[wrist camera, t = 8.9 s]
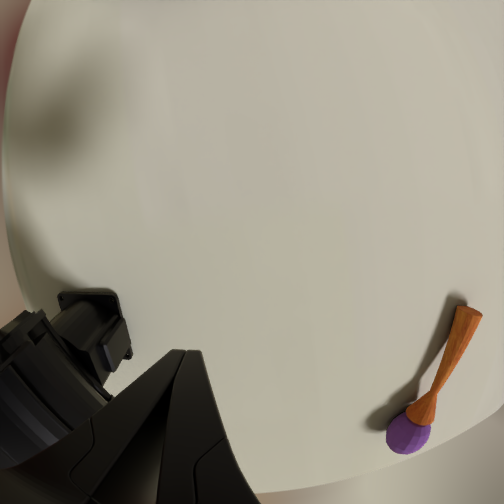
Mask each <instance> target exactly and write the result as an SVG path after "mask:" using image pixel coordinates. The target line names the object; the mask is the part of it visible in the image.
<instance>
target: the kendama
mask: <svg viewBox="0 0 504 504" xmlns="http://www.w3.org/2000/svg"><path fill="white" fill-rule="evenodd" d="M482 316H483V315H482V313H480V312H479V311H477V310H475V309H473V308H471V307H468V306H458V305H457V309H456V313H455V317H454V321H453V324H452V328H451V332H450V335H449V338H448V342H447V345H446V348H445V351H444V354H443V357H442V360H441V363H440V366H439V368H438V371H437V374H436V376H435V379H434V382H433V384H432V387H431V389H430V391H429V392H427V393H426V394H425V395H424V396H422V397H421V398H420V399H418V400H417V401H415V402H414V403H413V404H411V405H410V406H409V407H407V409H406V412H403V413H402V414H400V415H399V416H397V417H396V418H394V419H393V420H392V422H391V424H390V425H389V427H388V429H387V432H386V442H387V444H388V446H389V448H390V449H391V450H392V451H393V452H395V453H398V454H410V453H413V452H415V451H417V450H419V449H420V448H421V447H422V446H424V444H425V443H426V442H427V440H428V438H429V435H430V430H431V425H430V424H431V423H432V422H433V421H434V417H435V409H436V400H437V394H438V392H439V391H440V389H441V388H442V386H443V385H444V383H445V382H446V380H447V379H448V377H449V376H450V374H451V373H452V371H453V369H454V368H455V366H456V365H457V363H458V361H459V360H460V358H461V356H462V354H463V353H464V351H465V349H466V347H467V346H468V344H469V342H470V340H471V338H472V336H473V334H474V332H475V330H476V328H477V326H478V324H479V322H480V320H481V318H482Z"/></svg>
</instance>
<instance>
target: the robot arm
mask: <svg viewBox="0 0 504 504" xmlns="http://www.w3.org/2000/svg"><path fill="white" fill-rule="evenodd" d="M57 297H58V301H59V305H60V308H61V312H60V313H58V314H57V315H56V316H55V317H54V318H53V319H52V320H51V321H50V322H49V321H48V319H47V318H46V316H45V315H46V314H45V313H44V311H43V310H42V309H41V310H40V311H38V312H37V313H35V312H33V313H30V312H28V311H27V310H24V311H23V312H22V313H21V314H20V315H18V316H17V317H16V318H15V319H13V320H12V321H11V322H9V323H8V324H7V325H5V326H4V327H2V328H1V329H0V504H261V503H260V502H259V500H258V499H257V497H256V496H255V494H254V492H253V491H252V489H251V488H250V486H249V484H248V483H247V481H246V479H245V477H244V475H243V474H242V472H241V470H240V468H239V466H238V463H237V461H236V459H235V456H234V454H233V451H232V449H231V446H230V443H229V440H228V439H227V435H226V432H225V429H224V426H223V423H222V420H221V417H220V413H219V410H218V407H217V404H216V401H215V397H214V394H213V391H212V387H211V384H210V381H209V377H208V374H207V370H206V366H205V363H204V359H203V355H202V352H201V351H200V350H187V351H186V350H181V349H172V350H170V351H169V352H168V353H167V354H166V355H165V356H163V357H162V358H161V359H160V360H159V361H157V362H156V363H155V364H154V365H153V366H152V367H150V368H149V369H148V370H147V371H146V372H144V373H143V374H142V375H141V376H140V377H138V378H137V379H136V380H135V381H134V382H132V383H131V384H130V385H129V386H128V387H126V388H125V389H124V390H123V391H122V392H120V393H119V394H118V395H117V396H116V397H114V396H113V395H110V394H109V393H108V392H107V391H106V390H105V389H104V388H103V385H104V384H105V382H106V380H107V378H108V376H109V375H110V373H111V372H115V371H116V370H117V368H118V366H119V364H120V363H121V361H122V359H126V360H130V359H131V358H132V356H133V352H132V348H131V340H130V337H129V333H128V329H127V325H126V322H125V319H124V318H123V315H122V311H121V307H120V303H119V299H118V296H117V295H116V294H115V293H98V292H60V293H59V294H58V296H57ZM62 297H63V298H62ZM111 298H113V299H114V301H112V300H111ZM126 353H127V354H129V355H127V354H126Z"/></svg>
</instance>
